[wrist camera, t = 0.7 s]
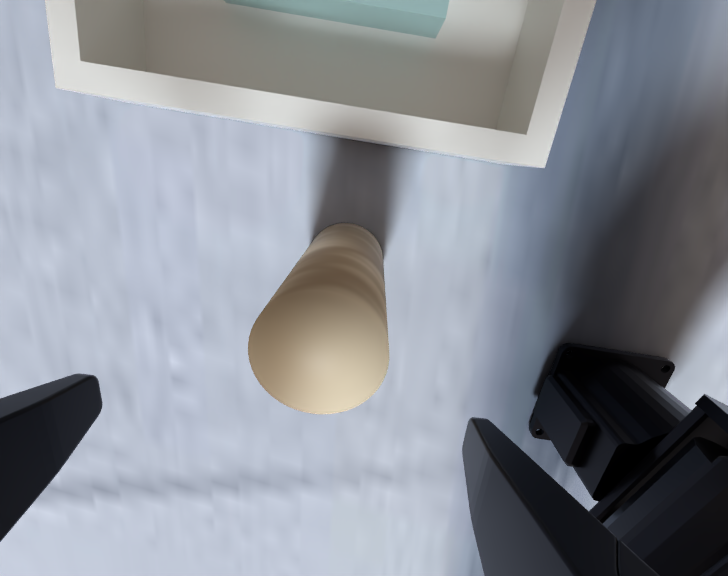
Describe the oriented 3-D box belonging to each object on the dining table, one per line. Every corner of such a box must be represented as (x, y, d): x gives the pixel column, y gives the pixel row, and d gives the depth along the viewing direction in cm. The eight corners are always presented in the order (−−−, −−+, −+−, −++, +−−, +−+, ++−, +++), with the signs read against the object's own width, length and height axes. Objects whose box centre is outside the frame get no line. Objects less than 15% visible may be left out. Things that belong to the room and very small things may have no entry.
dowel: (388, 229, 19) (401, 302, 10) (376, 299, 21) (376, 423, 11) (312, 217, 19) (250, 279, 10) (305, 288, 20) (245, 403, 11)
